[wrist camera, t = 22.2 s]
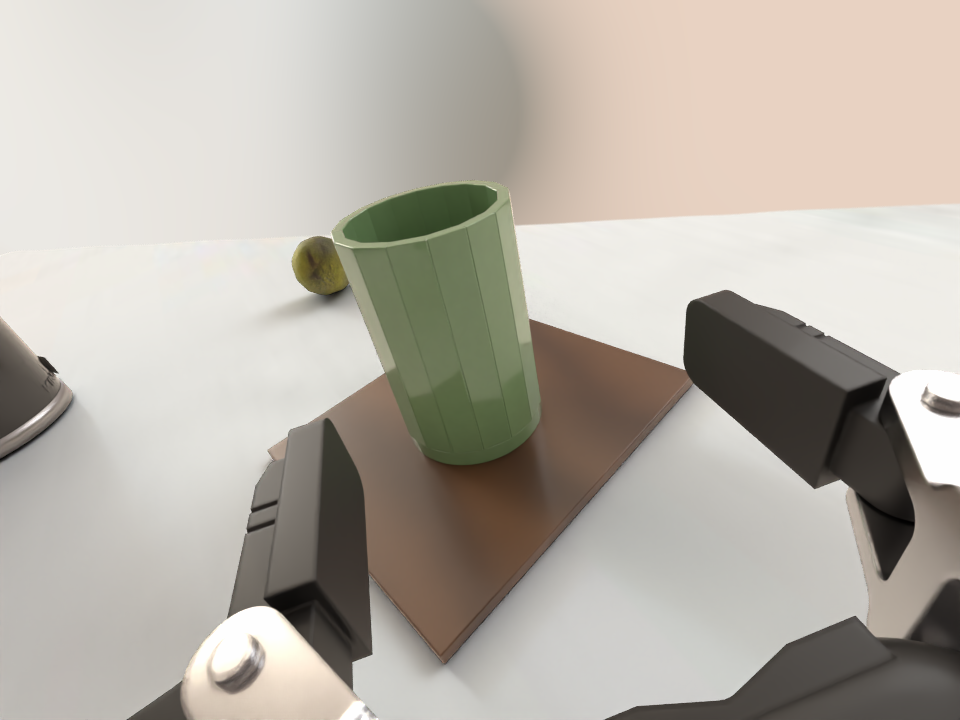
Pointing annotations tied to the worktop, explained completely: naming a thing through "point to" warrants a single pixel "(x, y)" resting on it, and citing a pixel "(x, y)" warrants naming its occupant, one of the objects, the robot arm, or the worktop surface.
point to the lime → (319, 266)
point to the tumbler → (447, 315)
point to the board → (494, 481)
